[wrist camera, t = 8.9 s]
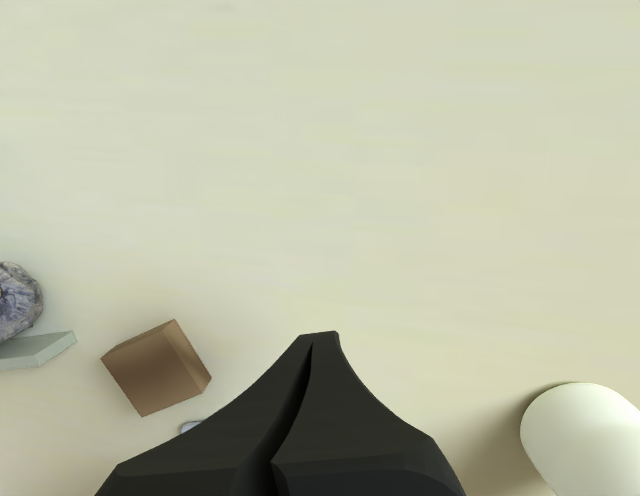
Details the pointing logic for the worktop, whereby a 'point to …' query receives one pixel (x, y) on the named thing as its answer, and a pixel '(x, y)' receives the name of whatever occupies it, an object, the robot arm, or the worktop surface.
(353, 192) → the worktop surface
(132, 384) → the walnut tile
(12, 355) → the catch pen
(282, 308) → the worktop surface
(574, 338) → the worktop surface
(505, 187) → the worktop surface
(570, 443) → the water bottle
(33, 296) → the seashell
